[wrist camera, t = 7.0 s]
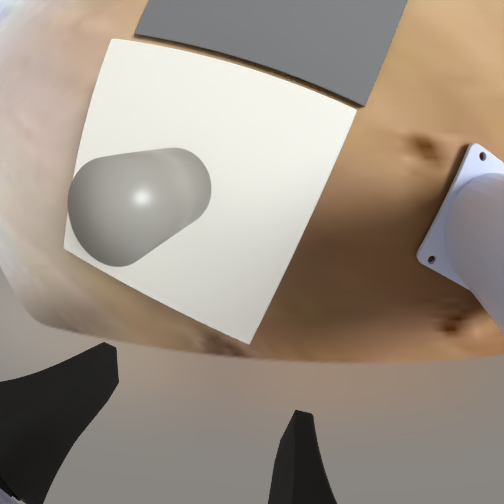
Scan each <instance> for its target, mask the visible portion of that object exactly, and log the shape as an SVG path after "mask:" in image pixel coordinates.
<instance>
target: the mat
mask: <svg viewBox="0 0 504 504" xmlns="http://www.w3.org/2000/svg"><path fill="white" fill-rule="evenodd" d="M406 3H407V0H149V2H148V4H147V6H146V8H145V10H144V13H143V15H142V17H141V19H140V22H139V24H138V26H137V29H136V31H135V33H134V34H137V35H141V36H147V37H153V38H158V39H163V40H168V41H173V42H178V43H183V44H187V45H191V46H196V47H200V48H204V49H208V50H211V51H215V52H219V53H223V54H226V55H230V56H233V57H237V58H240V59H243V60H246V61H250V62H253V63H256V64H259V65H262V66H265V67H268V68H271V69H274V70H277V71H280V72H282V73H285V74H288V75H290V76H293V77H296V78H298V79H301V80H304V81H306V82H309V83H311V84H314V85H316V86H319V87H321V88H323V89H326V90H328V91H330V92H333V93H335V94H337V95H340V96H342V97H344V98H346V99H348V100H351V101H353V102H355V103H357V104H359V105H361V106H363V107H364V106H365V105H366V102H367V100H368V98H369V95H370V93H371V91H372V88H373V86H374V83H375V81H376V79H377V76H378V74H379V71H380V69H381V66H382V64H383V62H384V59H385V57H386V54H387V52H388V49H389V47H390V44H391V42H392V39H393V37H394V34H395V31H396V29H397V26H398V24H399V21H400V19H401V16H402V13H403V11H404V8H405V5H406Z"/></svg>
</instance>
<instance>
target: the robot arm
mask: <svg viewBox="0 0 504 504" xmlns="http://www.w3.org/2000/svg"><path fill="white" fill-rule="evenodd" d="M481 152H482V153H483V156H484V157H483V159H482V160H480V158H479V154H480V153H481ZM430 256H434V259H433V260H432V261H431V262H428V258H429V257H430ZM417 259H418V261H419V262H420V263H421V264H423V265H425V266H427V267H429V268H431V269H432V270H434V271H436V272H438V273H440V274H442V275H443V276H445V277H447V278H449V279H451V280H452V281H454V282H456V283H458V284H459V285H461V286H463V287H465V288H466V289H468V290H470V291H471V292H472V293H473V294H474V296H475V297H476V298H477V300H478V301H479V302H480V303H481V305H482V306H483V307H484V309H485V310H486V311H487V313H488V314H489V315H490V317H491V318H492V320H493V321H494V322H495V324H496V325H497V327H498V328H499V329H500V331H501V332H502V334H503V335H504V163H503V162H502V161H501V160H499V159H498V158H497V157H495V156H494V155H493V154H491V153H490V152H489V151H487V150H486V149H485V148H483V147H482V146H481V145H479V144H477V143H472V144H470V145H469V146H468V148H467V151H466V153H465V155H464V158H463V160H462V163H461V165H460V167H459V169H458V172H457V174H456V176H455V178H454V180H453V183H452V185H451V187H450V189H449V191H448V193H447V195H446V197H445V200H444V202H443V204H442V206H441V208H440V210H439V212H438V214H437V216H436V218H435V220H434V221H433V223H432V225H431V227H430V229H429V231H428V233H427V235H426V237H425V238H424V240H423V242H422V244H421V246H420V248H419V249H418V251H417ZM118 383H119V378H118V366H117V351H116V347H114V346H111V345H109V344H107V343H105V342H103V343H101V344H99V345H97V346H95V347H93V348H91V349H89V350H86V351H84V352H83V353H80V354H79V355H76V356H74V357H72V358H70V359H68V360H66V361H64V362H61V363H59V364H57V365H54V366H52V367H49V368H47V369H45V370H42V371H40V372H37V373H34V374H31V375H27V376H24V377H20V378H17V379H13V380H8V381H2V382H0V504H18V503H17V502H16V501H15V500H13V499H12V498H11V497H12V496H13V497H15V498H16V499H17V500H19V501H20V500H22V501H23V502H24V503H26V504H43V502H44V500H45V497H46V495H47V492H48V490H49V488H50V486H51V484H52V482H53V480H54V478H55V476H56V474H57V471H58V470H59V468H60V466H61V464H62V463H63V461H64V459H65V457H66V456H67V454H68V452H69V451H70V449H71V447H72V446H73V444H74V443H75V441H76V440H77V439H78V437H79V436H80V435H81V433H82V432H83V431H84V430H85V428H86V427H87V426H88V425H89V423H90V422H91V421H92V420H93V419H94V417H95V416H96V415H97V414H98V412H99V411H100V410H101V409H102V407H103V406H104V405H105V404H106V402H107V401H108V399H109V398H110V396H111V395H112V393H113V391H114V389H115V388H116V386H117V385H118ZM268 504H337V502H336V500H335V498H334V495H333V493H332V490H331V488H330V485H329V482H328V479H327V476H326V473H325V469H324V466H323V463H322V459H321V455H320V452H319V447H318V442H317V437H316V432H315V426H314V418H313V415H312V414H311V413H307V412H302V411H298V410H295V412H294V414H293V416H292V418H291V420H290V422H289V424H288V427H287V428H286V430H285V432H284V434H283V436H282V438H281V440H280V444H279V448H278V451H277V455H276V459H275V463H274V469H273V475H272V482H271V488H270V494H269V501H268Z"/></svg>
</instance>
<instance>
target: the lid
mask: <svg viewBox="0 0 504 504" xmlns="http://www.w3.org/2000/svg"><path fill="white" fill-rule="evenodd" d="M356 112H357V110H356V109H354V108H352V107H350V106H347V105H345V104H343V103H341V102H338V101H336V100H334V99H331V98H329V97H327V96H324V95H322V94H319V93H317V92H314V91H312V90H309V89H307V88H304V87H302V86H299V85H296V84H294V83H291V82H288V81H285V80H283V79H280V78H277V77H274V76H271V75H268V74H265V73H262V72H259V71H256V70H253V69H250V68H246V67H243V66H240V65H236V64H233V63H229V62H226V61H222V60H219V59H215V58H211V57H207V56H203V55H199V54H195V53H191V52H186V51H182V50H177V49H173V48H168V47H163V46H157V45H152V44H146V43H140V42H134V41H128V40H121V39H113V38H112V39H111V42H110V45H109V47H108V50H107V53H106V56H105V58H104V61H103V64H102V67H101V70H100V73H99V76H98V79H97V82H96V86H95V89H94V92H93V96H92V99H91V102H90V106H89V110H88V113H87V117H86V121H85V125H84V129H83V133H82V137H81V142H80V146H79V151H78V155H77V160H76V165H75V170H74V176H73V181H72V183H71V186H70V190H69V195H68V214H67V221H66V230H65V239H64V249H66V250H67V251H69V252H71V253H72V254H74V255H76V256H77V257H79V258H81V259H83V260H84V261H86V262H88V263H89V264H91V265H93V266H95V267H96V268H98V269H100V270H102V271H103V272H105V273H107V274H109V275H110V276H112V277H114V278H116V279H118V280H119V281H121V282H123V283H125V284H127V285H129V286H130V287H132V288H134V289H136V290H138V291H140V292H142V293H144V294H145V295H147V296H149V297H151V298H153V299H155V300H157V301H159V302H161V303H163V304H165V305H167V306H169V307H171V308H173V309H175V310H177V311H179V312H181V313H183V314H185V315H187V316H189V317H191V318H193V319H195V320H197V321H199V322H201V323H203V324H205V325H207V326H209V327H211V328H214V329H216V330H218V331H220V332H222V333H224V334H226V335H229V336H231V337H233V338H235V339H237V340H240V341H242V342H244V343H246V344H250V342H251V340H252V338H253V336H254V334H255V332H256V330H257V328H258V326H259V324H260V322H261V320H262V318H263V316H264V314H265V312H266V310H267V308H268V306H269V304H270V302H271V300H272V298H273V296H274V294H275V292H276V290H277V287H278V285H279V283H280V281H281V279H282V277H283V275H284V273H285V271H286V269H287V267H288V264H289V262H290V260H291V258H292V256H293V254H294V252H295V250H296V247H297V245H298V243H299V241H300V239H301V237H302V235H303V232H304V230H305V228H306V226H307V224H308V222H309V219H310V217H311V215H312V213H313V211H314V208H315V206H316V204H317V202H318V199H319V197H320V195H321V193H322V191H323V188H324V186H325V184H326V182H327V179H328V177H329V175H330V173H331V170H332V168H333V166H334V163H335V161H336V159H337V157H338V154H339V152H340V150H341V147H342V145H343V143H344V140H345V138H346V136H347V133H348V131H349V129H350V126H351V124H352V121H353V119H354V117H355V114H356Z"/></svg>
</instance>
